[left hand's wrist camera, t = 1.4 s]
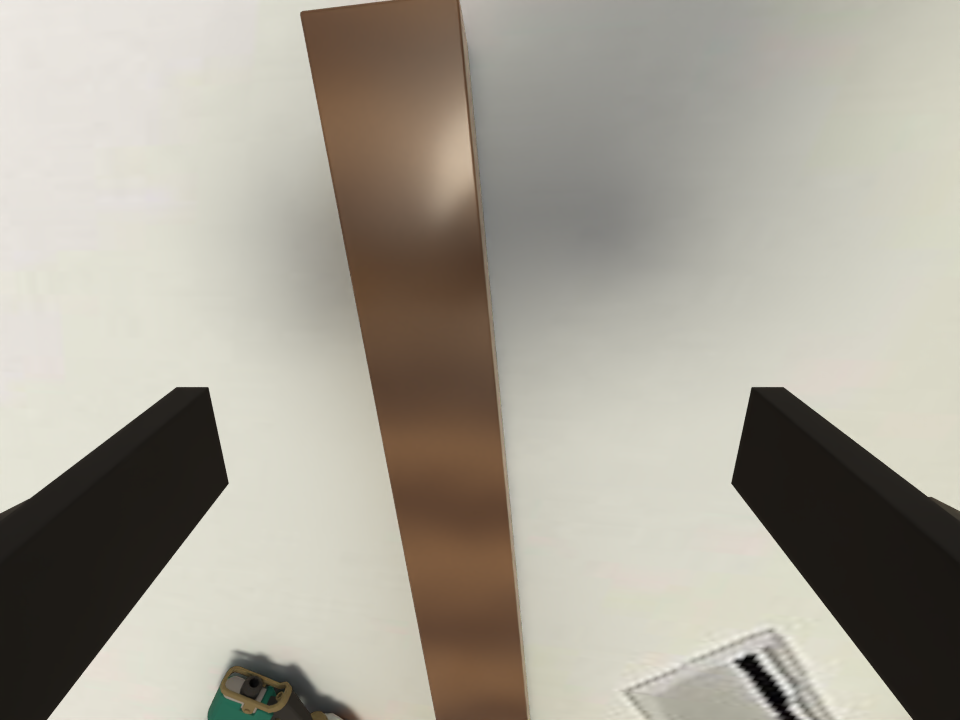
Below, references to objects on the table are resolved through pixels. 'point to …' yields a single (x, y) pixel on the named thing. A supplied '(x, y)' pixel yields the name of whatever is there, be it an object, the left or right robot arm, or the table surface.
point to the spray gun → (259, 700)
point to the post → (427, 329)
